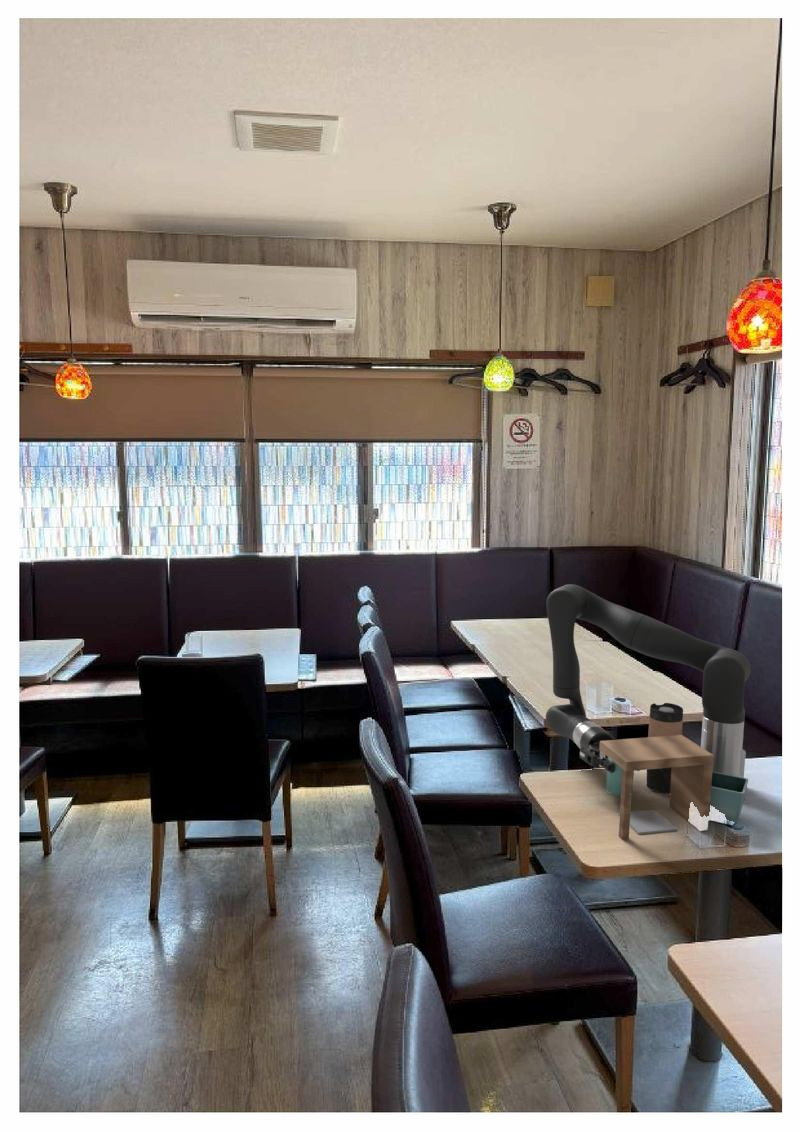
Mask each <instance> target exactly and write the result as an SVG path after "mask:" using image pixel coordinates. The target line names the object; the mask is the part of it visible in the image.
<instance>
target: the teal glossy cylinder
mask: <svg viewBox="0 0 800 1132" xmlns="http://www.w3.org/2000/svg"><path fill="white" fill-rule="evenodd" d="M608 759H609V760H610V761H611V762H613V763H614V773H610V772H609V771H607V770H606V782H605V790H606V791H607V793H610V794H611V795H614V796H620V797H621V786H622V768H621V767H620V766H619V765H618V764H616V763H615V762H614V761H613V760H611V759H610V758H609V757H608ZM634 776H635V771H633V773H632V791H631V795H632V794H633V791H634V780H635V779H634Z"/></svg>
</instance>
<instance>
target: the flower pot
mask: <svg viewBox="0 0 800 1132" xmlns="http://www.w3.org/2000/svg"><path fill="white" fill-rule="evenodd" d="M748 783H749V779H748V778H745V777H744V778H742V777H737V776H731V775H726V774H722V773H717V772H712V783H711V798H710V805H711V806H713V807H715V809H717V810H719V812H721V813H723V814H725V817H726V819H727V820H729V821H733V822H736V823H737V821H738V820H739V818H740V815H741V812H742V809H743V806H744V802H745V798H746V793H747V788H748Z"/></svg>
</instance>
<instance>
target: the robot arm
mask: <svg viewBox="0 0 800 1132" xmlns="http://www.w3.org/2000/svg"><path fill="white" fill-rule="evenodd" d="M545 605H546V615H547V620H548V626H549V632H550V633H549V634H550V640H551V646H552V647H551V648H552V649H551V650H552V651H551V652H552V692H553V695H554V696H555V697H557V698H558V699H559V698H560V699H567V700H569V703H567V704H566V703H565V704H558V705H552V706H550V707H549V708H548V709H547V711H546V713H545V722H546V724H547V725H546V726H547V727H548V728H549V729H550V730H551V731H552V732H553V733H554V734H556V735H559V736H561V737H562V738H565V739H566V738H567V739H570V740H571V741H572V742H573V743H575V744H576V746H577V747H578V748H579V759H581V760H582V761H584V762H585V763H587V764H588V765H590V766H591V767H593V768H594V767H597V766H599V767H600V768H603V769H605V771H606V772H607V771H609V772H610V773H614V763H613V762H611V761H610V760H609V759H608V756H606V755H605V754H604V753H603V752H602V751H600V750H599V746H600V741H606V740H615V738H614V737H613V736H612V734H610V733H609V732H607V731H606V730H605V729H604V728H602V727H601V726H600V725H599V724H598V723H595V722H593V721H592V720H590V719H589V718H588V717H587V713H586V710H585V706H584V704H583V699H582V694H581V687H580V685H581V669H580V668H581V667H580V666H581V665H580V661H579V657H578V653H577V649H576V646H575V645H576V644H575V636H574V635H575V634H574V633H575V625H576V620H577V619H578V620H581V621H584V622H588V623H590V624H592V625H595V626H597V627H599V628H600V629H603V630H604V631H606V632H607V633H608V634H609V635H610V636H611V637H612V638H613V639H615V640H616V641H617V642H619V643H620V644H621V645H623V646H624V647H626V648H628V649H631V650H633V651H635V652H637V653H640V654H643V655H645V656H647V657H650V658H652V659H656V660H663V661H668V662H673V663H678V664H682V665H685V666H689V667H691V668H692V669H693V668H694V669H696V670H698V671H700V672H702V694H701V705H702V722H701V724H702V725H701V740H700V747H702V748H703V749H705V750H706V751H708V752H710V753H711V754H713V769H712V772H717V773H722V774H726V775H731V776H737V777H742V778H745V768H746V767H745V765H746V755H747V753H746V750H745V749H743V743H744V729H745V728H744V727H745V716H746V709H745V706H744V702H745V701H744V700H745V688H746V687H745V686H746V682H747V680H748V679H749V678H750V675H751V673H752V672H751V664H750V662H749V659H747V657H746V656H744V654H743V653H741V652H740V651H738V650H735V649H733V648H730V647H726V646H722V645H719V644H717V643H716V644H715V643H712V642H709V641H706V640H703V639H700V638H699V637H698V638H697V637H695V636H693V635H691V634H688V633H687V632H684V631H682V630H681V629H678V628H675V627H674V626H671V625H669V624H666V623H664V622H662V621H660V620H657V619H655V618H653V617H651V616H648V615H645V614H643V613H640V612H637V611H635V610H632V609H629V608H627V607H624V606H622V605H619V604H616V603H613V602H611V601H610V600H609V601H608V600H607V599H604V598H603V597H600V596H598V595H597V594H596V593H593V592H591V591H589V590H588V589H586V588H584V587H582V586H580V585H577V584H571V583H569V584H564V585H563V586H560V587H558V588H555V589H553V591H551V592H550V593H549V594H548V595H547V598H546V604H545ZM640 771H641V770H636V772H640Z"/></svg>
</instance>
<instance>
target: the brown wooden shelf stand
mask: <svg viewBox="0 0 800 1132" xmlns="http://www.w3.org/2000/svg"><path fill="white" fill-rule="evenodd" d="M599 750H600V751H602V752H603V753H604V754H605V755H606V756H608V757H609V758H610V759H611V760H613V761H614V762H615V763H616V764H618V765H619V766H620V767H621V768H622V786H621V796H620V804H619V805H620V807H619V813H620V817H619V822H618V823H619V825H618V827H619V828H618V837H619V838H620V840H623V841H624V840H629V839H630V828H631V827H630V812H631V808H632V807H631V806H632V805H631V803H632V794H631V791H632V773H633V771H634V772H635V771H636V770H640V771H647V770H648V769H660V768H672V771H671V787H670V793H669V805H668V806H669V808H670V809H671V810H673V812H675V813H676V814H677V815H678V816H679V817H681V818H683V819H684V820H685V821H686V822H687V823H688V819H689V808H690V803H691V802H693V804H694V806H695V807H697V809H698V811H699V813H700V816H701V817H703V816H704V815H705V816H706V817H707V816H709V812H710V798H711V783H712V769H713V754H711V753H710V752H708V751H706V750H705V749H703V748H702V747H701V745H699V744H697V743H695V742H694V741H692V740H691V739H689V738H687V737H686V736H684V735H683V734H682V735H673V736H660V737H648V736H647V737H637V738H636V737H635V738H622V739H621V738H620V739H614V740H606V741H600V746H599ZM636 772H637V771H636Z"/></svg>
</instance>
